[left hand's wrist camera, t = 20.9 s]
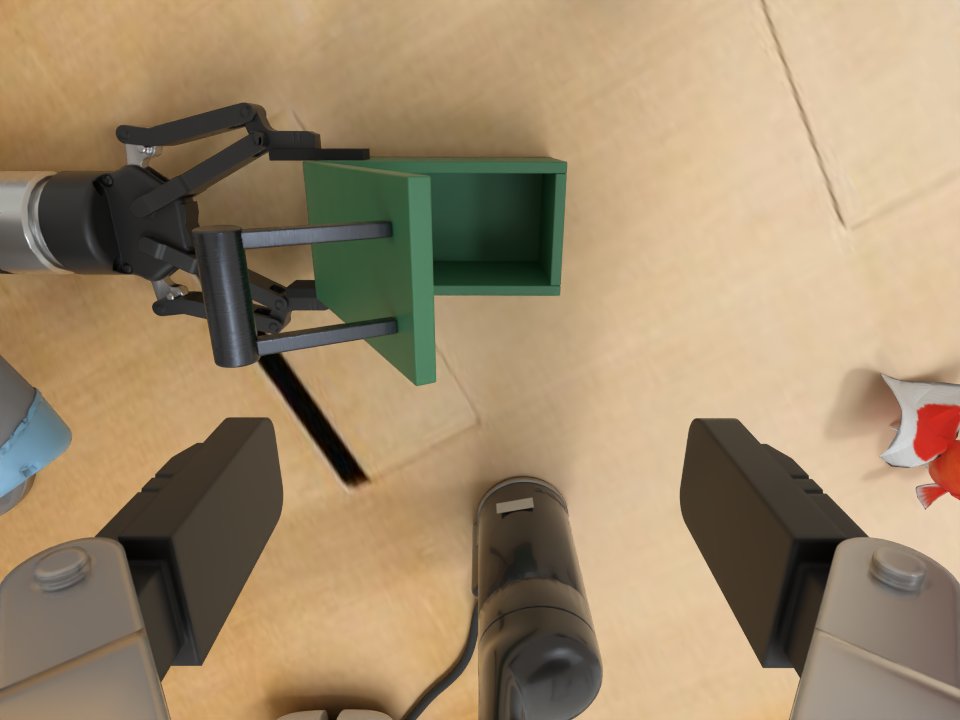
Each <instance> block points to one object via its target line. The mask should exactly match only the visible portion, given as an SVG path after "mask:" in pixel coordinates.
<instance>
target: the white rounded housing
mask: <svg viewBox="0 0 960 720" xmlns="http://www.w3.org/2000/svg"><path fill="white" fill-rule="evenodd" d="M277 720H328V715H327V712H326V710H312V711H301V712H295V713H290V714H287V715H284V716H282V717H280V718H278V719H277ZM337 720H393V719H392V718H391V717H390V716H388V715H387V714H385V713H382V712H378V711H373V710H358V709H349V710H343V711H342V712H341V713H340V714H339V716H338V718H337Z"/></svg>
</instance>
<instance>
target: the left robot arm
mask: <svg viewBox="0 0 960 720" xmlns="http://www.w3.org/2000/svg"><path fill="white" fill-rule="evenodd" d="M282 505H283V485H282V478H281V472H280V465H279V458H278V451H277V444H276V437H275V431H274V426H273V423H272V421H271V420H270V419H269V418H226V419H225V420H224V421H223V422H222V423H221V424H220V425H219V426H218V427H217V428H216V429H215V431H214V432H213V433H212V434H211V435H210V436H209V437H208V438H207V439H206V440H205V441H204V443H196V444H194V445H193V446H191V447H189V448H187V449H186V450H184V451H182V452H181V453H179V454H177V455H175V456H174V457H172V458H171V459H170V460H169V461H168V462H167V463H166V464H165V465H164V466H163V467H162V468H161V469H160V470H159V471H158V472H157V473H156V474H155V478H151V479H150V480H149V482H148V483H147V484H146V485H145V486H144V487H143V488H142V491H141V492H138V493H137V494H136V495H135V496H134V497H133V498H132V499H131V500H130V501H129V502H128V503H127V504H126V505H125V506H124V507H123V508H122V509H121V510H120V511H119V512H118V513H117V514H116V515H115V516H114V518H113V519H112V520H111V521H110V522H109V523H108V524H107V525H106V526H105V527H104V528H103V529H102V530H101V531H100V532H99V533H98V534H97V535H96V536H95V537H90V538H82V539H77V540H72V541H68V542H65V543H61V544H59V545H56V546H53V547H50V548H48V549H46V550H44V551H42V552H39V553H38V554H36V555H34V556H32V557H30V558H29V559H27V560H26V561H24V562H22V563H21V564H20V565H18V566H17V567H16V568H15V569H13V570H12V571H11V572H10V573H9V574H8V575H7V576H6V577H5V578H4V580H3V581H2V582H1V584H0V720H171V718H170V714H169V710H168V706H167V703H166V699H165V695H164V692H163V688H162V684H161V682H162V680H163V678H164V677H165V675H166V673H167V671H168V670H169V668H170V666H202V664H203V662H204V660H205V659H206V657H207V655H208V653H209V651H210V649H211V647H212V645H213V643H214V642H215V640H216V638H217V636H218V634H219V632H220V630H221V628H222V626H223V625H224V623H225V621H226V619H227V617H228V615H229V613H230V611H231V609H232V608H233V606H234V604H235V602H236V600H237V598H238V596H239V594H240V592H241V591H242V589H243V587H244V585H245V583H246V581H247V579H248V577H249V576H250V574H251V572H252V570H253V568H254V566H255V564H256V562H257V560H258V559H259V557H260V555H261V553H262V551H263V549H264V547H265V545H266V543H267V542H268V540H269V538H270V536H271V534H272V532H273V530H274V528H275V526H276V525H277V523H278V520H279V518H280V515H281V511H282ZM680 506H681V511H682V516H683V519H684V521H685V524H686V525H687V527H688V529H689V531H690V533H691V535H692V537H693V539H694V540H695V542H696V544H697V546H698V548H699V550H700V552H701V553H702V555H703V557H704V559H705V561H706V563H707V565H708V566H709V568H710V570H711V572H712V574H713V576H714V578H715V580H716V581H717V583H718V585H719V587H720V589H721V591H722V593H723V594H724V596H725V598H726V600H727V602H728V604H729V606H730V608H731V609H732V611H733V613H734V615H735V617H736V619H737V621H738V622H739V624H740V626H741V628H742V630H743V632H744V634H745V635H746V637H747V639H748V641H749V643H750V645H751V647H752V649H753V650H754V652H755V654H756V656H757V658H758V660H759V662H760V663H761V665H762V667H763V668H794V669H795V670H796V672H797V674H798V675H799V677H800V681H799V684H798V688H797V692H796V695H795V699H794V703H793V706H792V710H791V714H790V718H789V720H960V584H959V582H958V581H957V580H956V578H955V577H954V576H953V575H952V574H951V573H950V572H949V571H948V570H947V569H945V568H944V567H943V566H942V565H940V564H939V563H938V562H936V561H934V560H933V559H931V558H930V557H928V556H926V555H924V554H922V553H921V552H918V551H916V550H914V549H912V548H910V547H907V546H904V545H901V544H899V543H895V542H892V541H888V540H883V539H878V538H870V537H868V536H867V535H866V533H865V532H864V531H863V530H862V529H861V528H860V527H859V526H858V525H857V524H856V523H855V522H854V521H853V520H852V519H851V518H850V517H849V516H848V515H847V514H846V513H845V512H844V511H843V510H842V509H841V508H840V507H839V506H838V505H837V504H836V503H835V502H834V501H833V500H832V499H831V498H830V497H829V496H828V495H827V494H823V490H822V489H821V488H820V487H819V486H818V485H817V484H816V483H815V481H814V480H813V479H809V475H808V474H807V473H806V472H805V471H804V470H803V469H802V468H801V467H800V466H799V465H798V464H797V463H796V462H795V461H794V460H793V459H792V458H790V457H788V456H787V455H785V454H783V453H781V452H780V451H778V450H776V449H774V448H773V447H771V446H769V445H767V444H760V443H759V442H758V440H757V439H756V438H755V437H754V436H753V435H752V434H751V433H750V432H749V431H748V430H747V429H746V427H745V426H744V425H743V424H742V423H741V422H740V421H739V420H738V419H735V418H696V419H694V420H693V421H692V423H691V425H690V428H689V433H688V439H687V446H686V453H685V459H684V466H683V473H682V480H681V486H680ZM472 593H473V595H474V596H475V597H477V598H478V602H477V604H476V607H475V610H474V613H473V618H472V623H471V629H470V634H469V639H468V643H467V647H466V649H465V652H464V654H463V656H462V658H461V660H460V662H459V663H458V664H457V666H456V667H455V668H454V670H453V671H452V672H451V673H450V674H449V675H448V676H447V677H446V678H444V679H443V680H442V681H441V682H440V683H439V684H437V685H436V686H435V687H434V688H433V689H432V690H431V691H430V692H429V693H428V694H427V695H426V696H425V697H424V698H423V699H422V700H421V701H420V703H419V704H418V705H417V706H416V707H415V708H414V710H413V711H412V712H411V713H410V714H409V716H408V717H407V718H406V720H416V719H417V718H418V717H419V715H420V714H421V713H422V712H423V711H424V710H425V708H426V707H427V706H428V705H429V704H430V703H431V702H432V701H433V700H434V699H435V698H436V697H437V696H438V695H439V694H440V693H441V692H443V691H444V690H445V689H446V688H447V687H448V686H450V685H451V684H452V683H453V682H454V681H455V680H456V679H457V678H458V677H459V676H460V675H461V674H462V672H463V671H464V670H465V668H466V666H467V665H468V663H469V661H470V659H471V657H472V654H473V652H474V648H475V645H476V641H477V636H478V678H479V699H478V720H572V719H574V718H575V717H577V716H578V715H580V714H581V713H582V712H584V711H585V710H586V709H587V708H588V707H589V706H590V705H591V703H592V702H593V701H594V700H595V698H596V696H597V695H598V693H599V690H600V688H601V684H602V677H603V666H602V659H601V655H600V650H599V646H598V642H597V639H596V634H595V630H594V626H593V622H592V617H591V613H590V609H589V605H588V601H587V596H586V592H585V588H584V583H583V579H582V575H581V570H580V566H579V562H578V557H577V553H576V549H575V544H574V540H573V536H572V531H571V527H570V522H569V518H568V510H567V506H566V503H565V500H564V498H563V497H562V495H561V494H560V492H559V491H558V490H557V489H556V488H554V487H553V486H552V485H550V484H549V483H547V482H545V481H542V480H539V479H536V478H530V477H517V478H512V479H508V480H505V481H503V482H500V483H498V484H497V485H495V486H494V487H492V488H491V489H490V490H489V491H488V492H487V493H486V494H485V496H484V497H483V499H482V500H481V502H480V505H479V508H478V522H477V523H476V524H475V525H474V526H473V551H472Z"/></svg>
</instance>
